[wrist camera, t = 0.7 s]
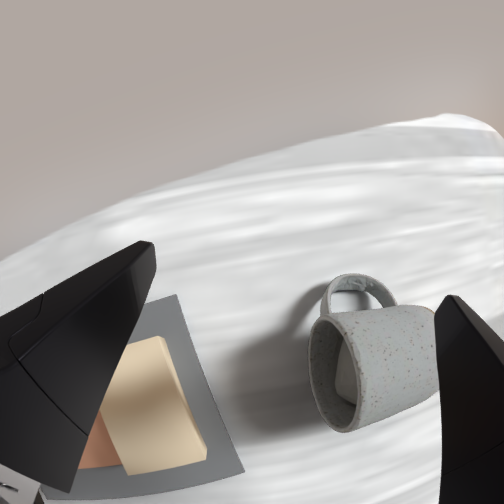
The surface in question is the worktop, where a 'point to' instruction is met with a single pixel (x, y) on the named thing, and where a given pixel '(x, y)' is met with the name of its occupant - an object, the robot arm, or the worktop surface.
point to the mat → (203, 410)
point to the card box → (150, 411)
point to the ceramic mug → (370, 357)
